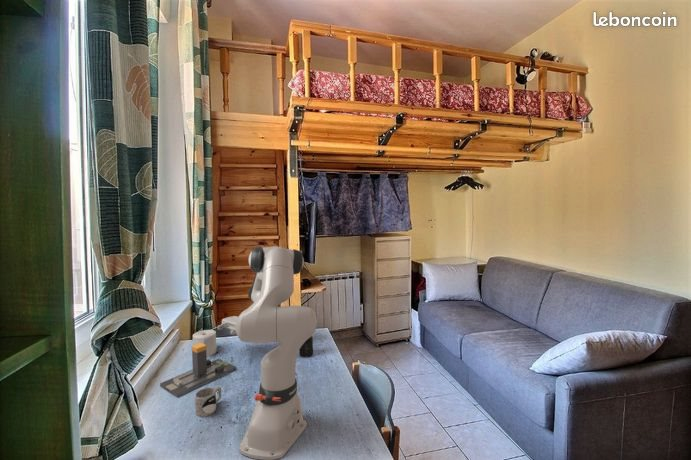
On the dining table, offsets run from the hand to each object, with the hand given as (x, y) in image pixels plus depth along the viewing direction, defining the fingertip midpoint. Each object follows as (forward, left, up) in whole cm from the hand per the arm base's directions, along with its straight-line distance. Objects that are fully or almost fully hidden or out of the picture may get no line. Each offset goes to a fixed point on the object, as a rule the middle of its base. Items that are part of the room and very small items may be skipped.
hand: (224, 330), depth 142 cm
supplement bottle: (+18, -33, -17) cm, 41 cm away
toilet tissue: (+10, +17, -17) cm, 26 cm away
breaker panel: (-11, +5, -17) cm, 21 cm away
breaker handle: (-11, +5, -15) cm, 19 cm away
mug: (-29, -13, -17) cm, 36 cm away
